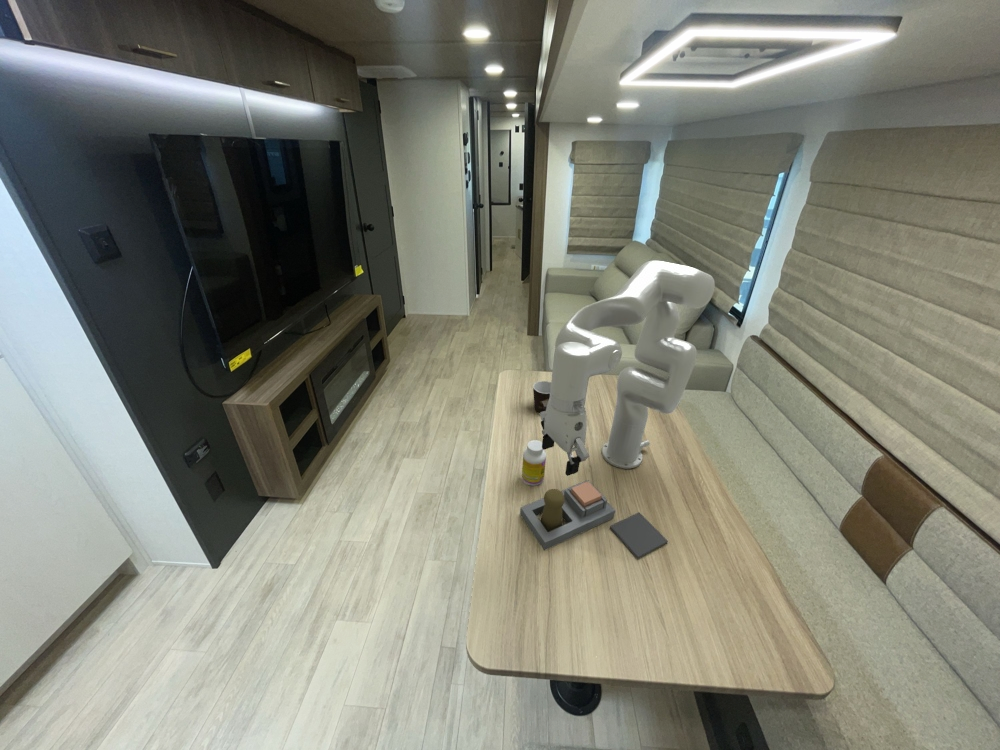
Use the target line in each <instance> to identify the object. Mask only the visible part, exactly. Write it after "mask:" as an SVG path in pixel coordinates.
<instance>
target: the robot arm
mask: <svg viewBox="0 0 1000 750" xmlns="http://www.w3.org/2000/svg"><path fill="white" fill-rule="evenodd" d="M715 283H716V282H715V279H714V277H713V276H712V275H711V274H709V273H707V272H704V271H702V270H699V269H698V268H695V267H691V266H688V265H684V264H678V263H673V262H668V261H663V260H658V259H657V260H655V259H654V260H649V261H646V262H644V263H643V264H641V265H640V266H639V267H638V269H636V271H635V272H634V273H633V274H632V276H630V278H628V280H627V281H626V282H625V283H624V285H623V286H622V287H621V288H619V290H618V292H617V293H616V294H615V295H614V296H612V297H607V298H604V299H601V300H599V301H596V302H593V303H591V304H590V303H589V304H588V305H585V306H584V307H582V308H580V309H579V310H578V311H576V312H574V314H573V315H572V316H571V317H570V318H569V319H568V321H567V322H566V323H565V324H564V325H562V328H561V329H560V330H559V332H558V334H557V336H556V338H555V343H554V346H555V349H554V353H553V359H552V360H553V361H552V371H551V372H552V373H551V379H550V380H551V381H550V382H551V389H550V398H549V401H548V404H547V408H546V411H543V412H540V414H539V416H540V420H541V421H540V425H541V427H542V430H541V434H542V441H541V442H542V449H543V450H544V451H545V450H548V449H551V448H553V447H554V446H555V444H556V445H557V446H558V447H559V448H560V449H561V450H563V452H565V453H566V455H567V459H568V460H567V462H566V465H565V473H564V474H565V475H566V477H568V476H571V475H575V474H577V473H579V469H580V463H582V462H585V461H586V460H587V459H588V458H589V457H590V453H589V452H588V449H587V448H586V446H585V445H586V438H587V426H588V425H587V424H588V423H587V421H588V419H587V412H586V407H585V405H586V400H587V399H586V398H587V392H588V388H589V387H588V386H589V379H590V378H591V377H595V376H598V375H603V374H606V373H608V372H610V371H612V370H614V368H616V367H617V366H618V365H619V363H620V361H621V359H622V355H623V348H622V347H621V345H620V344H619V342H618V341H616V340H614V339H613V338H610V337H607V336H606V335H605V336H604V335H601V334H599V333H597V332H594V331H593V330H596V329H599V328H605V327H625V326H634V325H638V324H639V323H642V322H643V321H644V320H645V321H644V323H643V325H642V329H641V331H640V332H639V333H640V334H639V336H638V340H637V342H636V345H635V349H634V359H635V360H636V361H637V362H639V363H642V364H643V365H645V366H648V367H651V368H653V369H656V370H658V371H662V372H664V373H666V374H667V376H668V377H665V376H663V375H661V374H658V373H655V372H653V371H650V370H648V369H645V368H642V367H638V366H627V367H625V368H623V369H622V370H621V371H620V373H619V375H618V377H617V381H616V403H615V409H614V413H613V419H612V423H611V427H610V433H609V438H608V441H607V442H605V443H604V444H603V445H602V448H601V455H602V457H603V459H604V461H606V462H608V464H610V465H612V466H613V467H616V468H620V469H624V470H626V469H627V470H628V469H635V468H637V467H639V466H641V463H642V461H643V453H642V452H641V451H642V450H643V449H644V448H646V447H648V446H650V444H651V443H650V441H649V440H648V439H644V440H643V437H644V433H645V429H646V425H647V421H648V418H649V409H652V410H653V411H655V412H658V413H661V414H664V415H669V414H672V413H673V412H675V411H676V409H677V408H678V405H679V404H680V402H681V399H682V397H683V395H684V392H685V389H686V387H687V385H688V383H689V380H690V377H691V375H692V373H693V370H694V367H695V366H696V365H695V364H696V362H697V358H698V357H697V356H698V351H697V348H696V346H695V345H694V344H692V343H691V342H688V341H685V340H683V339H679V338H677V337H676V338H675V335H676V332H677V329H678V327H679V323H680V321H681V317H680V312H679V308H678V305H681V306H684V307H687V308H692V309H696V310H697V309H701V308H703V307H705V306H706V305H707V304H708V303H709V302H710V301H711V299H712V297H713V296H714V294H715V293H714V292H715V288H716V287H715V285H716V284H715ZM648 408H649V409H648ZM573 452H574V453H575V454H576V456H574V455H573Z"/></svg>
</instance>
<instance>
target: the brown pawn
mask: <svg viewBox="0 0 1000 750" xmlns="http://www.w3.org/2000/svg"><path fill="white" fill-rule="evenodd" d="M561 491H562V490H560V489H558V488H550V489H548V490H547V491H546V492H545V493H544V495H543V498H544V502H545V506H544V509H543V512H542V514H541V516H540V519H539V521H540V522H541V523H542V525H543V526H544V528H545V529H546V530H547V532H550V531H552V530H554V529H556V528H559V527H561V526H563V525H564V524H563V523H564V522H563V520H564V519H563V517H562V506H563V504H564V501H565V498H564V495H563V493H562V492H561Z"/></svg>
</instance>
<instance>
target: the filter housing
mask: <svg viewBox="0 0 1000 750" xmlns="http://www.w3.org/2000/svg"><path fill="white" fill-rule="evenodd" d="M588 481H589V483H590V484H591V485H592V486H593V487H594V488H595V489H596V490H597V491H598V492H599V493H600V494H601V495H602V496H601V500H600V501H598V502H596V503H594V504H591V505H589V506H587V507H585V509H584V508H583V507H582V505H581V504H580V503H579V502H578V501H577V500H576V498H575V497H574V496H573V495H572V494H571V489H572V488H573V487H575V486H578V485H580V484H583V483H585V482H588ZM560 491H561V492H562V493H563V495H564V498H565V501H564V504H563V506H562V520H564V522H566V523H565V524H563V526H561V527H559V528H556V529H554V530H552V531H550V532H547V530H546V529H545V528H544V526H543V525H542V523H541V522H540V519H539V518H538V516H539V515H542V512H543V509H544V506H545V502H544V497H542V498H539V499H538V500H535V501H533V502H531V503H528V504H525V505H522V506H521V507H520V512H519V513H520V514H519V516H520V517H521V518H522V520H523V521H524V523H525V524H526V526H527V527H528V529H529V530H530V532H531V533H532V535H533V536H534V537H535V539H536V541H537V542H538V543H539V545H540V546H541V548H542V549H543V551H546V550H547V551H548V550H549V549H550V548H552V547H553V548H554V546H555V547H556V546H558V545H560V544H561V543H563V542H566V541H568V540H571V539H572V538H574V537H577V536H578V535H581V534H583V533H585V532H587V531H589V530H591V529H593V528H595V527H597V526H600V525H601V524H604V523H606V522H608V521H610V520H611V521H612V520H613V519H614V518H615V514H616V509H615V508H614V507H613V506H612V505H611V504H610V503H609V502H608V499H607V498H606V497H605V496H604V495H603V494H602V493H601V492H600V491H599V490H598V489H597V488H596V487H595V486H594V484H592V482H591V481H590V480H585V481H581V482H579V483H576V484H574V485H572V486H569V487H567V488H565V489H563V490H560Z"/></svg>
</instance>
